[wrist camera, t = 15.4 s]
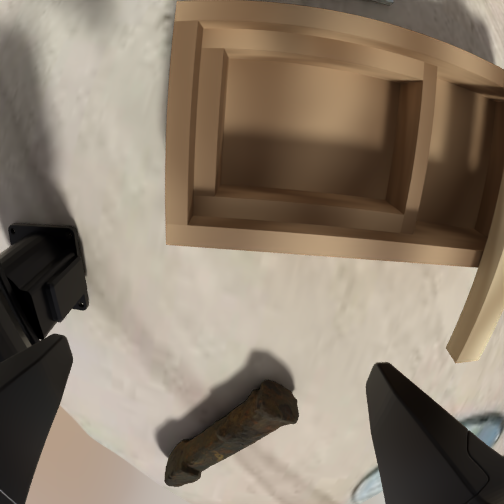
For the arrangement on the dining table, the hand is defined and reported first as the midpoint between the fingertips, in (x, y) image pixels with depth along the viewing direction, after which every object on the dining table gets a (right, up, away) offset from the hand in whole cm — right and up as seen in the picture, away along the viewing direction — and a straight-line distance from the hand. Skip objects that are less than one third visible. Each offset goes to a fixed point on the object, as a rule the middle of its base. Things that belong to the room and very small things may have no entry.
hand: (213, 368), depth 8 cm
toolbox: (+8, +10, +9) cm, 15 cm away
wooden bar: (+15, +4, +5) cm, 16 cm away
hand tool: (-2, -14, +20) cm, 25 cm away
